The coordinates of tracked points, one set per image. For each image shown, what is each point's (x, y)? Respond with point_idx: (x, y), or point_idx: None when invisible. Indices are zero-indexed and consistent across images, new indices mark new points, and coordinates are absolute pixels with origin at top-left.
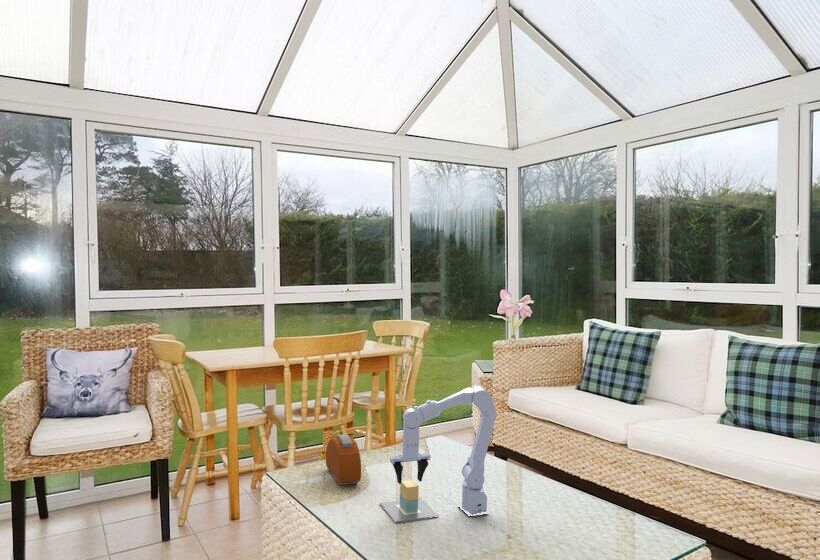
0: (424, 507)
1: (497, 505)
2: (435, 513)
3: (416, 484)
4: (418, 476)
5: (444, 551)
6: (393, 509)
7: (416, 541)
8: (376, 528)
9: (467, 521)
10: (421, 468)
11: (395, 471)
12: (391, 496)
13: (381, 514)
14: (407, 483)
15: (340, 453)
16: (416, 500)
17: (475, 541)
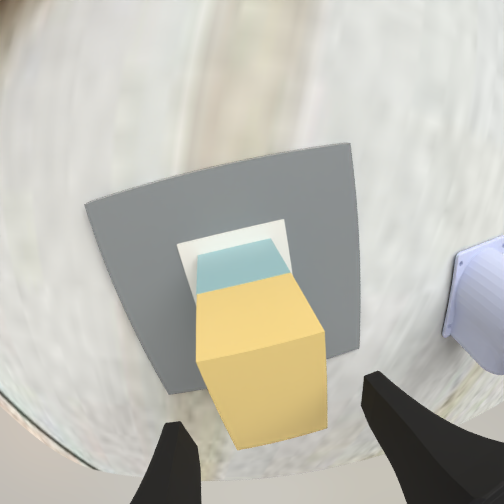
0: (333, 276)
1: None
2: (356, 332)
3: (324, 410)
4: (377, 410)
5: (290, 472)
6: (160, 295)
7: (233, 456)
8: (106, 407)
9: (423, 356)
10: (408, 499)
11: (133, 500)
12: (168, 79)
13: (105, 318)
14: (256, 405)
15: None
16: None
17: None
